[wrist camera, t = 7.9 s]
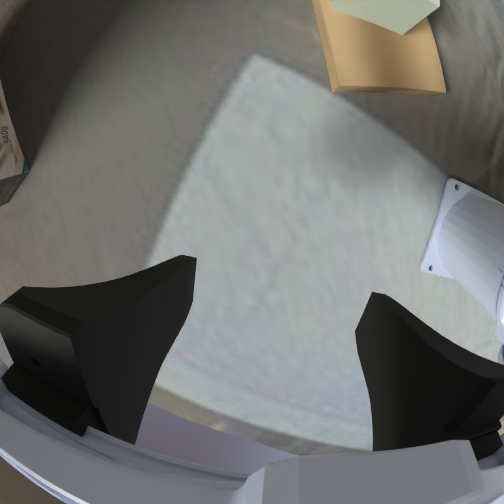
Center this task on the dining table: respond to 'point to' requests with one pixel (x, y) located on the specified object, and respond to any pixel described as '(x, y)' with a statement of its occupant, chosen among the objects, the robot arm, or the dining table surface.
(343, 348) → the dining table surface
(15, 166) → the cake mix box
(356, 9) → the sage block
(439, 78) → the tan block
